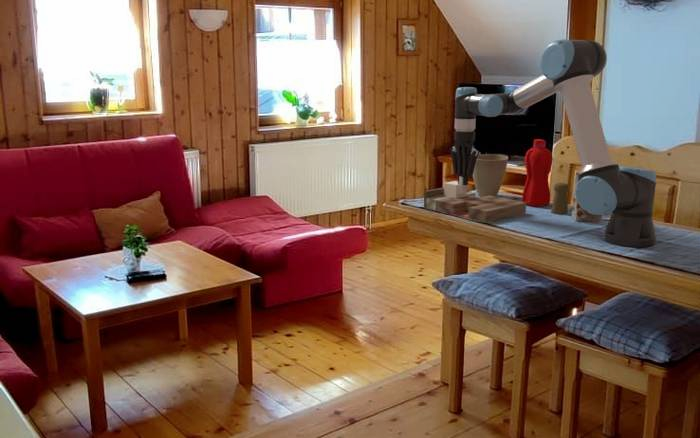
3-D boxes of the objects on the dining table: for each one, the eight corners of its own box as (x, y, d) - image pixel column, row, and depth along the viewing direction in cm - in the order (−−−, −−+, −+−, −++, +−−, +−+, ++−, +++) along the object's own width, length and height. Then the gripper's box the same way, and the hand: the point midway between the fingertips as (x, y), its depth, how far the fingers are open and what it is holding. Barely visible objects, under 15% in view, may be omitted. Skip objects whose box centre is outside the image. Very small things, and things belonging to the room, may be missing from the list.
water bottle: (556, 205, 272) (561, 139, 266) (534, 208, 267) (538, 141, 261) (540, 200, 280) (544, 137, 274) (518, 203, 275) (522, 138, 269)
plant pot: (462, 193, 293) (463, 155, 289) (494, 191, 297) (496, 153, 294) (479, 200, 279) (481, 160, 275) (513, 198, 283) (515, 158, 280)
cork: (571, 213, 258) (573, 183, 255) (557, 215, 255) (560, 185, 253) (561, 210, 263) (563, 181, 261) (547, 211, 261) (549, 182, 258)
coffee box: (575, 221, 246) (578, 175, 242) (571, 217, 252) (574, 172, 249) (602, 222, 245) (606, 176, 242) (597, 217, 251) (601, 173, 248)
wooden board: (525, 213, 258) (526, 196, 256) (485, 222, 244) (486, 204, 243) (463, 200, 280) (463, 183, 279) (423, 207, 267) (424, 190, 265)
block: (466, 196, 268) (467, 183, 267) (455, 198, 264) (456, 185, 263) (454, 193, 273) (455, 180, 271) (443, 195, 269) (444, 182, 268)
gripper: (485, 130, 257) (482, 194, 263) (458, 128, 267) (456, 189, 272) (471, 132, 253) (469, 197, 258) (444, 129, 262) (442, 192, 268)
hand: (462, 193), depth 265 cm, fingers closed
